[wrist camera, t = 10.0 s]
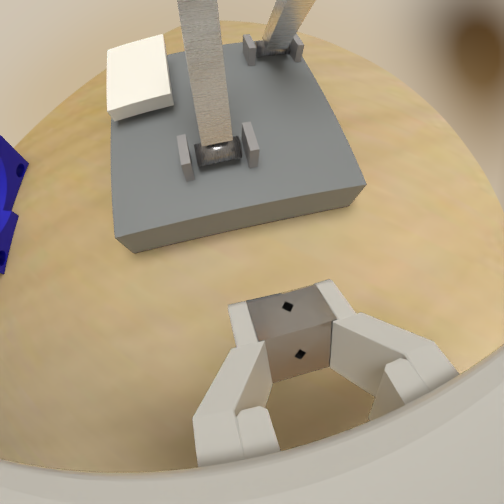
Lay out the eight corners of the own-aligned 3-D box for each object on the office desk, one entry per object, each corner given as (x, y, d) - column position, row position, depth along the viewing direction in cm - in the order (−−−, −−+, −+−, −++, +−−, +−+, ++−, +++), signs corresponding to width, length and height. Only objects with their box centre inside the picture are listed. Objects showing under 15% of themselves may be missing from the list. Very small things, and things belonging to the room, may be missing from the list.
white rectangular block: (114, 121, 20) (107, 111, 19) (112, 61, 21) (107, 50, 19) (173, 105, 21) (170, 93, 19) (165, 46, 21) (162, 34, 19)
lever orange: (200, 177, 19) (159, -58, 7) (196, 154, 21) (161, -49, 9) (245, 167, 19) (222, -67, 8) (236, 146, 21) (214, -57, 9)
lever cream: (258, 65, 24) (306, -43, 9) (252, 40, 23) (290, -71, 8) (289, 63, 24) (357, -35, 9) (282, 38, 23) (339, -64, 9)
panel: (133, 253, 22) (101, 226, 16) (124, 95, 27) (108, 54, 21) (349, 205, 24) (378, 169, 18) (286, 65, 29) (293, 23, 23)
